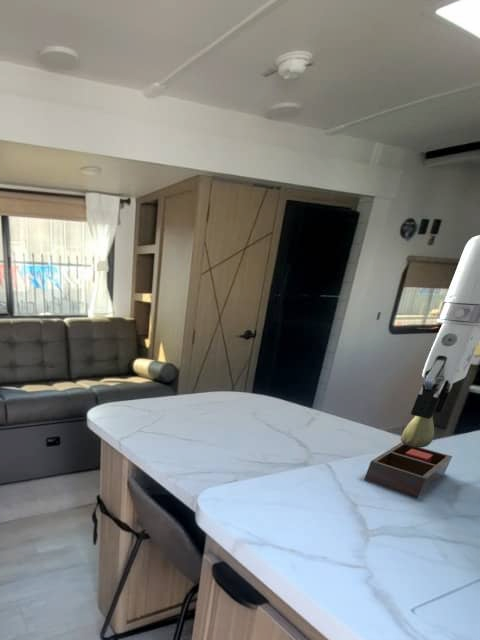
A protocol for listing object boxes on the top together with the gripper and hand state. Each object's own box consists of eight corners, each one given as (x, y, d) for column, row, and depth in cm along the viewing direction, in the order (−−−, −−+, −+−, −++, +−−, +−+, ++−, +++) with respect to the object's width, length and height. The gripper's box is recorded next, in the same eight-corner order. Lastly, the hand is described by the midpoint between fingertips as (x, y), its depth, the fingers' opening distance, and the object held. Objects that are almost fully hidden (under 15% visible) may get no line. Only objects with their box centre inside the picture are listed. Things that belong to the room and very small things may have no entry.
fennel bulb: (412, 439, 84) (435, 383, 79) (436, 449, 80) (462, 389, 75) (391, 442, 83) (413, 384, 77) (415, 452, 78) (440, 391, 73)
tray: (394, 459, 96) (401, 441, 94) (444, 474, 90) (452, 456, 88) (363, 480, 86) (370, 460, 84) (416, 499, 79) (425, 478, 77)
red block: (405, 464, 93) (411, 448, 91) (425, 471, 90) (433, 454, 88) (398, 469, 90) (405, 452, 89) (420, 475, 87) (427, 459, 86)
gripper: (482, 319, 63) (436, 427, 71) (504, 315, 73) (461, 411, 81) (425, 314, 68) (388, 416, 76) (453, 311, 78) (417, 401, 86)
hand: (426, 412), depth 78 cm, fingers closed on fennel bulb, 5 cm apart
